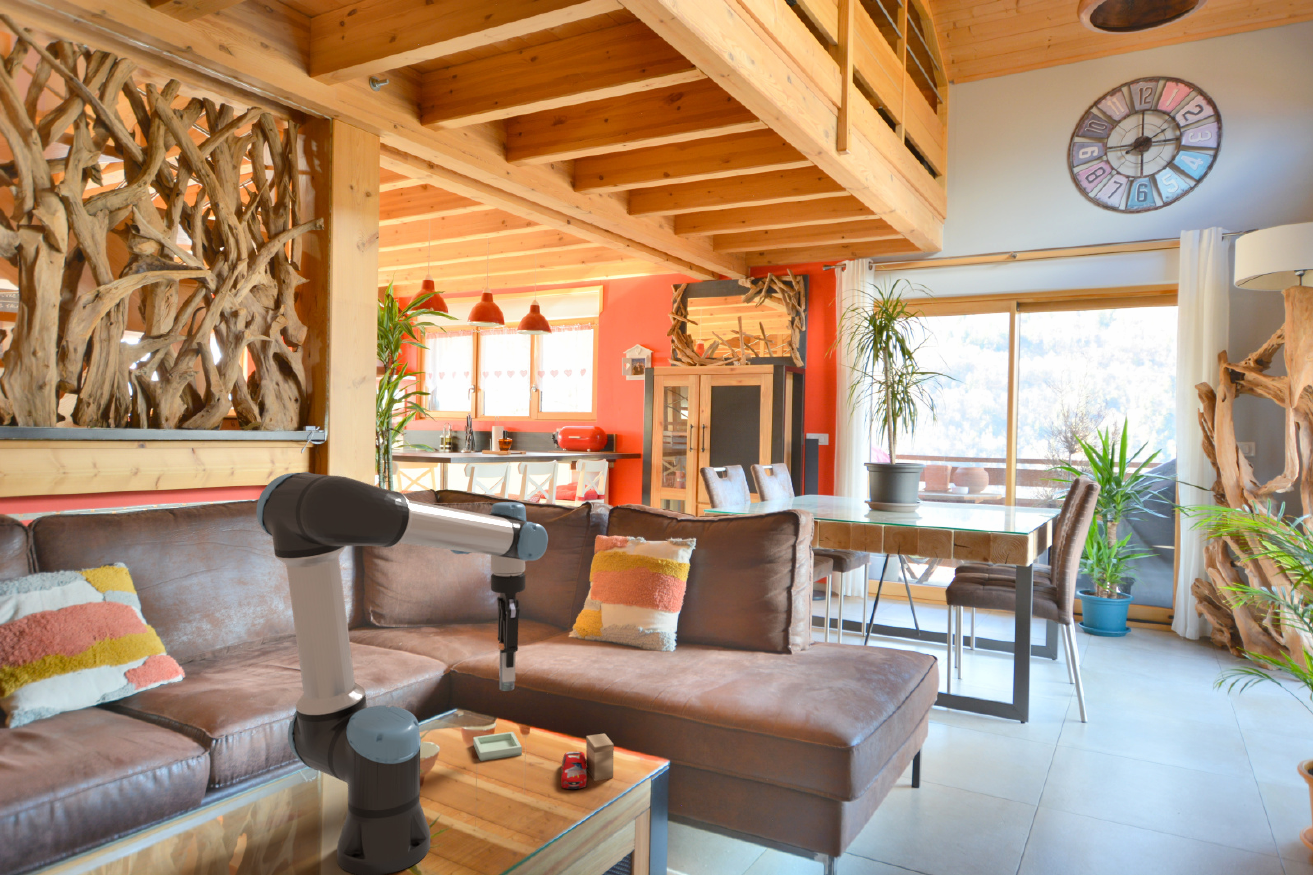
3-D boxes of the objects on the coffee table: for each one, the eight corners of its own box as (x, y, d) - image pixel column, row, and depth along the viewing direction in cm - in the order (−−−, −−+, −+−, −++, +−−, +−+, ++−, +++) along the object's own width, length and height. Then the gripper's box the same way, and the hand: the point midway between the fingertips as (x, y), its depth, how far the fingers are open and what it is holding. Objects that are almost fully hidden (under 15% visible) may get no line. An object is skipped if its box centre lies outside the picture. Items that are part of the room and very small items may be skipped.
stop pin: (499, 692, 180) (500, 646, 180) (496, 686, 184) (497, 642, 183) (517, 690, 181) (517, 645, 181) (513, 685, 185) (514, 640, 185)
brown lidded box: (594, 781, 168) (594, 747, 168) (586, 768, 174) (586, 736, 174) (613, 777, 170) (613, 744, 170) (604, 765, 176) (604, 733, 175)
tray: (480, 761, 177) (480, 752, 177) (473, 745, 186) (473, 737, 185) (521, 754, 181) (521, 746, 180) (513, 739, 189) (513, 731, 189)
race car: (587, 792, 164) (587, 772, 164) (559, 793, 163) (559, 773, 163) (588, 763, 177) (588, 745, 177) (562, 764, 177) (562, 745, 176)
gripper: (532, 578, 176) (531, 688, 176) (518, 565, 191) (517, 666, 191) (497, 580, 173) (496, 691, 174) (485, 567, 188) (484, 669, 189)
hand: (507, 678), depth 182 cm, fingers closed on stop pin, 3 cm apart
